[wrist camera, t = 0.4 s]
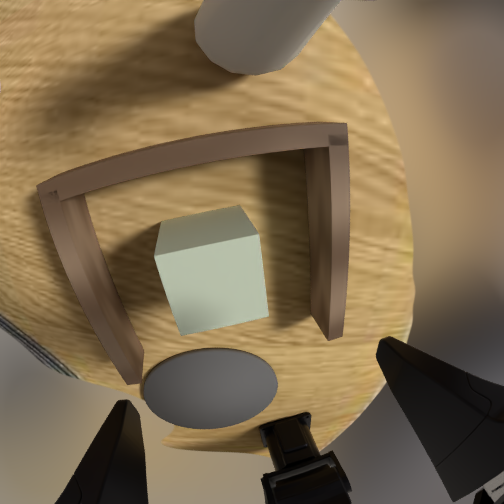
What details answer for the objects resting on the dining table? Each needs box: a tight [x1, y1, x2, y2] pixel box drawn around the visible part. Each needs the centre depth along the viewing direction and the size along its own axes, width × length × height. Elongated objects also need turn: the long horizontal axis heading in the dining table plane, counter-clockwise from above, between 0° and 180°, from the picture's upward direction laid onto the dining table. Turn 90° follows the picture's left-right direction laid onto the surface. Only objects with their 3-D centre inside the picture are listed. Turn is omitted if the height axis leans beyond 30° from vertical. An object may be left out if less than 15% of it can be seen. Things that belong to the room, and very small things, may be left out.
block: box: [154, 205, 269, 336], centre depth 16 cm, size 5×5×5 cm
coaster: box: [144, 348, 278, 429], centre depth 25 cm, size 13×13×1 cm
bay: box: [36, 122, 350, 385], centre depth 17 cm, size 15×16×4 cm
